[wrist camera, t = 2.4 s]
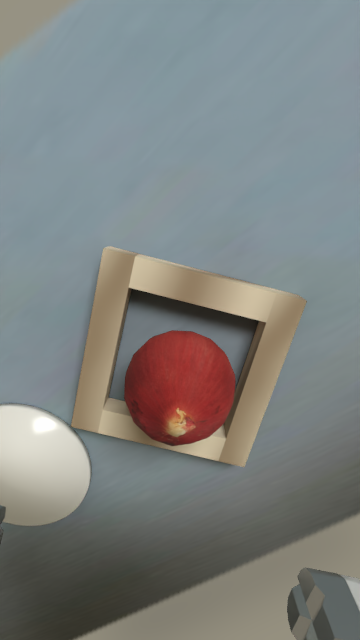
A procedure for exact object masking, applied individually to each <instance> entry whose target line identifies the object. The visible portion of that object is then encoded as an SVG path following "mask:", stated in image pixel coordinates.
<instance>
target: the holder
mask: <svg viewBox="0 0 360 640" xmlns="http://www.w3.org/2000/svg"><path fill="white" fill-rule="evenodd" d="M132 288H133V289H137V290H141V291H144V292H148V293H152V294H156V295H160V296H164V297H168V298H172V299H176V300H180V301H184V302H188V303H192V304H196V305H199V306H203V307H207V308H211V309H215V310H219V311H223V312H227V313H231V314H235V315H239V316H243V317H247V318H251V319H255V320H258V321H259V323H258V326H257V328H256V331H255V334H254V337H253V340H252V343H251V346H250V349H249V352H248V355H247V358H246V361H245V364H244V367H243V370H242V373H241V376H240V379H239V381H238V384H237V387H236V390H235V393H234V401H233V405H232V407H231V410H230V412H229V414H228V416H227V418H226V420H225V423H224V425H222V426H221V427H220V428H219V429H218V430H217V431H215V432H214V433H213V434H212V435H211V436H210V437H208V438H206V439H203V440H200V441H197V442H195V443H192V444H185V445H178V446H170V445H167V444H164V443H161V442H158V441H155V440H153V439H151V438H150V437H149V436H148V435H147V434H145V433H144V432H143V431H142V430H141V429H140V428H139V427H138V426H137V425H136V424H135V423H134V422H133V419H132V417H131V414H130V412H129V410H128V407H127V405H126V402H125V401H121V400H117V399H113V398H109V393H110V388H111V383H112V379H113V374H114V369H115V365H116V360H117V355H118V351H119V346H120V341H121V337H122V332H123V327H124V323H125V318H126V313H127V309H128V304H129V299H130V295H131V290H132ZM306 302H307V301H306V300H305V299H303V298H302V297H300V296H299V295H296V294H292V293H288V292H284V291H280V290H276V289H273V288H269V287H265V286H261V285H257V284H253V283H249V282H246V281H242V280H238V279H234V278H230V277H226V276H222V275H219V274H215V273H211V272H207V271H203V270H199V269H195V268H192V267H188V266H184V265H180V264H176V263H172V262H168V261H165V260H161V259H157V258H153V257H149V256H145V255H141V254H138V253H134V252H130V251H126V250H122V249H118V248H114V247H111V246H109V247H106V248H103V253H102V259H101V264H100V270H99V275H98V281H97V286H96V292H95V297H94V303H93V308H92V314H91V319H90V325H89V330H88V336H87V341H86V347H85V352H84V358H83V363H82V369H81V374H80V380H79V385H78V391H77V396H76V402H75V407H74V413H73V418H72V424H71V427H74V428H79V429H83V430H87V431H91V432H96V433H100V434H104V435H109V436H113V437H117V438H121V439H126V440H130V441H134V442H139V443H143V444H147V445H151V446H156V447H160V448H164V449H169V450H173V451H177V452H181V453H186V454H190V455H194V456H199V457H203V458H207V459H211V460H216V461H220V462H224V463H229V464H233V465H237V466H241V467H244V466H245V464H246V461H247V458H248V456H249V453H250V450H251V448H252V445H253V443H254V440H255V437H256V435H257V432H258V429H259V427H260V424H261V421H262V419H263V416H264V413H265V411H266V408H267V405H268V403H269V400H270V397H271V395H272V392H273V389H274V387H275V384H276V382H277V379H278V376H279V374H280V371H281V368H282V366H283V363H284V360H285V358H286V355H287V352H288V350H289V347H290V344H291V342H292V339H293V336H294V334H295V331H296V329H297V326H298V323H299V321H300V318H301V315H302V313H303V310H304V307H305V305H306Z"/></svg>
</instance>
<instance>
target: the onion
mask: <svg viewBox="0 0 360 640" xmlns="http://www.w3.org/2000/svg"><path fill="white" fill-rule="evenodd" d="M234 393H235V374H234V372H233V369H232V367H231V365H230V362H229V360H228V357H227V356H226V354H225V352H224V351H223V350H222V349H221V348H220V347H218V346H217V345H216V344H215V343H214V342H213V341H212V340H211V339H209V338H207V337H204V336H202V335H199V334H197V333H195V332H191V331H173V330H172V331H169V332H166V333H163V334H160V335H157V336H154V337H152V338H151V339H149V340H148V341H147V342H146V343H145V344H144V345H143V346H142V347H141V348H140V349H139V350H138V351H137V352H136V353H135V354H134V355H133V357H132V360H131V362H130V365H129V367H128V369H127V372H126V376H125V394H124V399H125V402H126V405H127V407H128V410H129V412H130V414H131V417H132V419H133V422H134V423H135V424H136V425H137V426H138V427H139V428H140V429H141V430H142V431H143V432H144V433H145V434H147V435H148V436H149V437H150V438H151V439H153V440H155V441H158V442H161V443H164V444H167V445H170V446H178V445H185V444H192V443H195V442H197V441H200V440H203V439H206V438H208V437H210V436H211V435H212V434H213V433H214V432H215V431H217V430H218V429H219V428H220V427H221V426H222V425H223V424H224V422H225V420H226V418H227V416H228V414H229V412H230V410H231V407H232V405H233V401H234Z"/></svg>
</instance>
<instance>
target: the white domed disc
mask: <svg viewBox="0 0 360 640" xmlns="http://www.w3.org/2000/svg"><path fill="white" fill-rule="evenodd" d="M91 474H92V467H91V460H90V456H89V453H88V450H87V448H86V446H85V444H84V442H83V441H82V439H81V438H80V437H79V435H78V434H77V433H76V432H75V431H74V429H73V428H71V427H70V426H69V425H68V424H67V423H66V422H65V421H63V420H62V419H60V418H59V417H57V416H55V415H54V414H52V413H50V412H48V411H45V410H43V409H41V408H37V407H34V406H30V405H25V404H15V403H9V404H0V505H1V506H4V507H6V512H5V518H4V520H3V522H6V523H10V524H15V525H22V526H39V525H45V524H49V523H53V522H56V521H58V520H61V519H63V518H64V517H66V516H68V515H69V514H70V513H72V512H73V511H74V510H75V509H76V508H77V507H78V506H79V505H80V503H81V502H82V501H83V499H84V497H85V495H86V493H87V490H88V487H89V484H90V481H91Z"/></svg>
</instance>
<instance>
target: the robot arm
mask: <svg viewBox="0 0 360 640" xmlns="http://www.w3.org/2000/svg"><path fill="white" fill-rule="evenodd" d="M5 512H6V507H4V506H1V505H0V525H1V523H2V521H3V520H4V518H5ZM2 536H3V529H2V527H1V526H0V544H1V540H2ZM298 580H299V583H300V584H299V585H297V586H295V587H294V588H292V590H291V592H290V595H289V597H288V606H287V612H288V621H289V625H290V629H291V632H292V633H293V635H294V636H295V638H296V639H297V640H360V580H359V579H358V578H354V577H349V576H344V575H338V574H336V573H331V572H326V571H320V570H315V569H310V568H303V569H302V570H301V571H300V573H299V575H298Z"/></svg>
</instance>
